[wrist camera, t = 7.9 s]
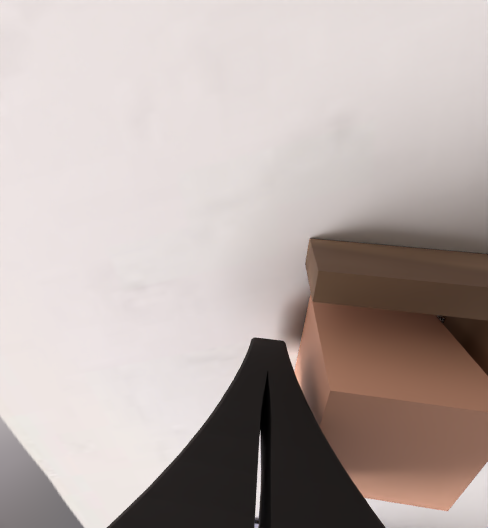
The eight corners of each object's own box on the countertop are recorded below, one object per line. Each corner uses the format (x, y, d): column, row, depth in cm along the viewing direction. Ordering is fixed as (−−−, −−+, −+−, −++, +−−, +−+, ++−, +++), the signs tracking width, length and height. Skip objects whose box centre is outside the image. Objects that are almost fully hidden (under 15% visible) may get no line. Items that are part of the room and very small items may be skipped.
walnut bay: (418, 427, 13) (446, 488, 11) (281, 408, 14) (281, 463, 11) (507, 256, 9) (582, 296, 7) (309, 238, 10) (318, 270, 7)
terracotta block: (392, 388, 12) (447, 511, 8) (293, 375, 12) (301, 487, 9) (428, 307, 10) (523, 417, 6) (310, 294, 11) (330, 390, 7)
